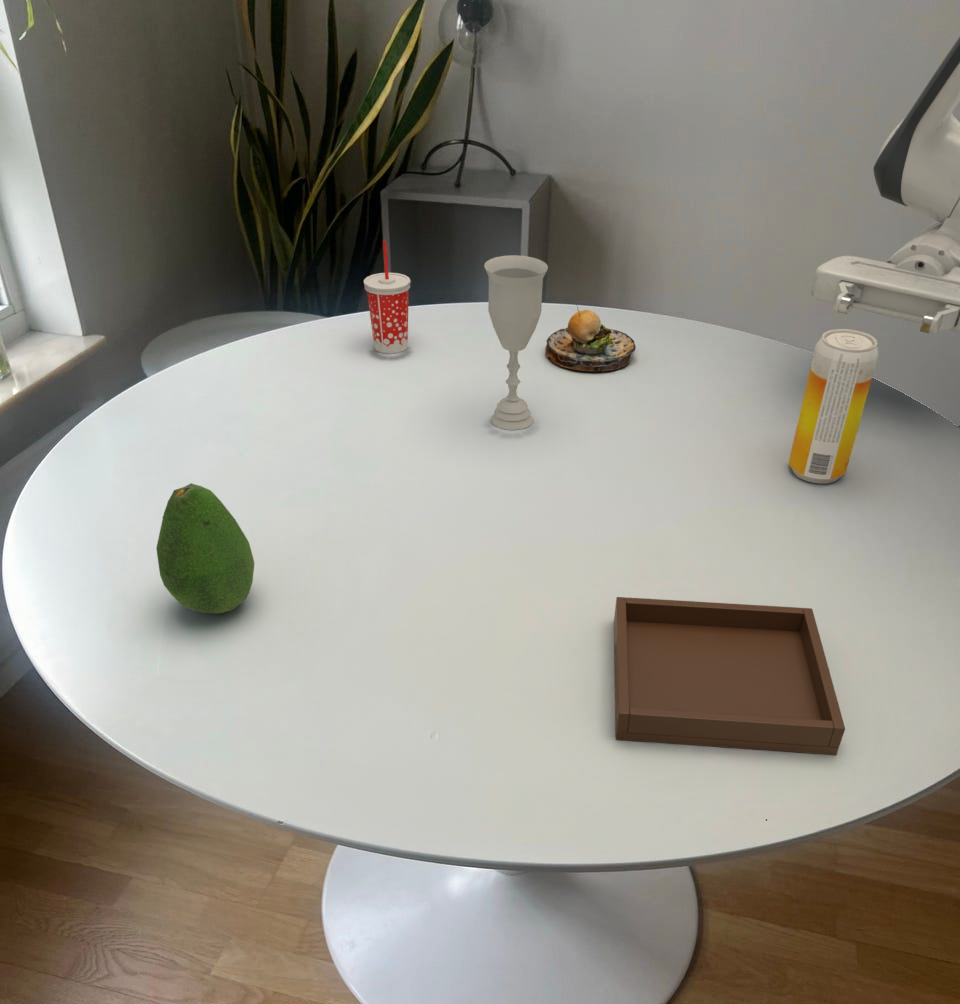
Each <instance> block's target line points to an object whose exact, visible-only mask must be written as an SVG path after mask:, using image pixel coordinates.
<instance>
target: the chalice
mask: <svg viewBox="0 0 960 1004" xmlns="http://www.w3.org/2000/svg"><path fill="white" fill-rule="evenodd" d="M483 268H484V269H485V271H486V274H487V276H488V303H487V305H488V309H487V311H488V314H489V318H490V321H491V324H492V327H493V329H494V331H495V334H496V337H497V339H498V340H499V342H500V343H499V344H500V345H501V347H502V349H503V350H506V351H508V353H509V359H508V363H507V364H506V368H507V370H508V374H509V375H508V378H507V379H506V380H505V383H506V384H507V386H508V394H507V395H506V396H505V397H504V398H501V400H499V402H498V403H496V408H495V409H494V411H493V415H492V416H491V418H490V422H491V424H492V425H493V426H495V427H496V428H499V429H502V430H507V431H508V430H509V431H519V430H523V429H526V428H528V427H531V426H532V425H533V424H534V423H533V422H534V418H533V416H532V415H531V411H530V408H529V405H528V403H527V401H525V400H524V399H523V398H521V397H520V396H518V392H517V391H518V386H519V385H520V384H521V380H520V379H519V377H518V371H519V370H520V368H521V365H520V363H519V359H518V355H519V352H521V351H523V350H525V349H526V348H527V346H528V344H529V343H530V340H531V339H532V337H533V335H534V333H535V331H536V329H537V326H538V323H539V320H540V317H541V315H542V305H543V304H542V303H543V285H544V283H543V281H544V277H545V276H546V274H547V272H548V268H549V266H548V264H547V263H546V262H545V261H543V260H541V259H538V258H536V257H531V256H527V255H517V254H516V255H515V254H513V255H502V256H495V257H493V258H490V259H488V260H487V261H486V262H485V263H484V265H483Z"/></svg>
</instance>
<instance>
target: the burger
mask: <svg viewBox="0 0 960 1004" xmlns="http://www.w3.org/2000/svg"><path fill="white" fill-rule="evenodd" d="M575 304H576V308H577V312H575V313H574V314H572V316H571V317H570V319H569V321H568V324H567V327H565V328H560V329H558V330H556V331H555V332H553V333H551V335H549V337H548V338H547V340H546V345H545V356H546V357H547V358H550V361H551V362H552V363H553V364H555V365H558V366H560V367H562V368H566V369H570V370H575V371H582V372H598V373H599V372H610V371H615V370H619V369H621V368H622V367H626V366H628V365H629V363H630V361H631V360H630V359H631V358H632V355H633V353H634V352H635V351H636V349H637V347H636V343H635V340H634V339H633V338H632V337H631V336H629V335H628V334H627V333H624V332H623V331H620V330H617V329H612V328H607V327H606V326H605V325H604V324H602V321H601V318H600V315H598V314H597V313H596V312H594V311H592V310H590V309H584V310H579V307H578V304H577V303H575Z"/></svg>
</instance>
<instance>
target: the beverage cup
mask: <svg viewBox="0 0 960 1004" xmlns="http://www.w3.org/2000/svg"><path fill="white" fill-rule="evenodd" d="M382 247H383V249H382V250H383V264H384V265H383V267H384V272H379V273H374V274H371V275H368V276H366V277H365V278H364V279H363V285H364V290H365V291H366V295H367V303H368V310H369V318H370V325H371V326H370V327H371V332H372V342H373V347H374V350H375V351H376V352H379V353H382V354H389V355H390V354H391V355H392V354H398V353H399V354H400V353H402V352H404V351H406V350H407V349H408V347H409V298H410V297H409V296H410V295H409V294H410V288H411V283H412V282H411V281H412V280H411V278H410V277H409V276H407V275H406V274H402V273H398V272H389V259H388V257H389V256H388V241H387V240H386V239H384V240H382Z"/></svg>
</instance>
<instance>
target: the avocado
mask: <svg viewBox="0 0 960 1004" xmlns="http://www.w3.org/2000/svg"><path fill="white" fill-rule="evenodd" d="M165 506H166V507H165V510H164V512H163V516H162V520H161V525H160V529H159V533H158V538H157V544H156V554H157V556H156V557H157V564H158V571H159V576H160V578H161V582H162V584H163V586H164V588H165V589H166V590H167V591H168V593H169V594H170V595H171V596H172V597H173V598H174V599H175V600H176V601H177V602H178V603H179V604H180V605H181V606H183V607H185V608H187V609H189V610H191V611H195V612H199V613H202V614H211V615H212V614H215V615H216V614H223V613H227V612H231V611H234V610H235V609H236V608H237V607H238V606H239V605H240V604H242V603H243V602H244V601H245V600H247V598H248V596H249V594H250V592H251V589H252V585H253V581H254V572H255V559H254V555H253V552H252V548H251V544H250V541H249V540H248V538H247V537H246V534H245V533H244V531H243V530H242V528H241V526H240V525H239V523H238V521H237V520H236V518H235V517H234V516H233V515H232V513H231V512H230V510H229V509H228V508H227V507H226V506H225V504H224V503H223V502H222V500H220V499H219V497H217V495H216V494H215V493H214V492H213V491H212V490H211V489H208V488H207V487H204V486H202V485H199V484H195V483H189V484H187V485H185V486H182V487H179V488H177V489H174V490H173V491H172V494H171V495H170V497H169V498H168V500H167V503H166V505H165Z"/></svg>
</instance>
